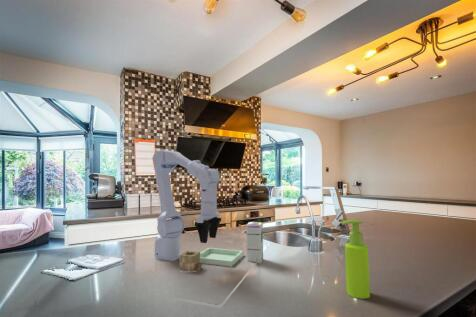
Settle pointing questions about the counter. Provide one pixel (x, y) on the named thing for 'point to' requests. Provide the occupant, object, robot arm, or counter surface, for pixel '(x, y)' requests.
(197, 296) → the counter surface
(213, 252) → the tray
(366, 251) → the soap dispenser
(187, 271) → the silver knobbed lid
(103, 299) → the counter surface
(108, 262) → the bicycle print towel
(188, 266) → the tan wooden hollow block
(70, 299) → the counter surface
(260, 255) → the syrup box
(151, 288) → the counter surface
